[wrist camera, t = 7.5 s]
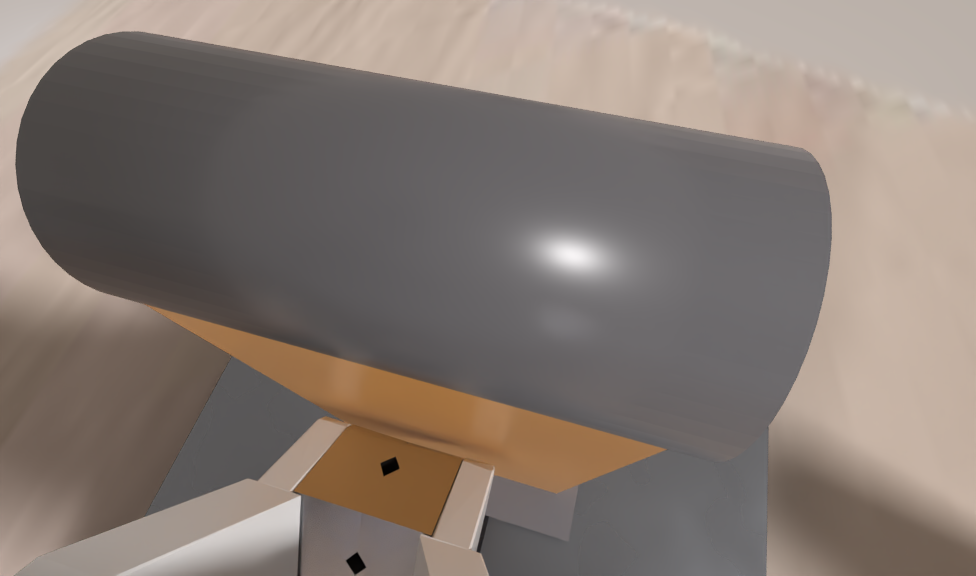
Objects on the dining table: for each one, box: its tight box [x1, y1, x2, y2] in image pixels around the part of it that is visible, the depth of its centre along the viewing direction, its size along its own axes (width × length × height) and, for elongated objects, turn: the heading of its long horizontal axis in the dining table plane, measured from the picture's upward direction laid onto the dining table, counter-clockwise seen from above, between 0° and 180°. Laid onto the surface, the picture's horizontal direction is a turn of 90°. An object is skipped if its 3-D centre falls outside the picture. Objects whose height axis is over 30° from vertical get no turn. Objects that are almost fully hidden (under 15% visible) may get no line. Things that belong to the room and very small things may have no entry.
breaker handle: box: [15, 32, 832, 541], centre depth 8 cm, size 4×6×11 cm
